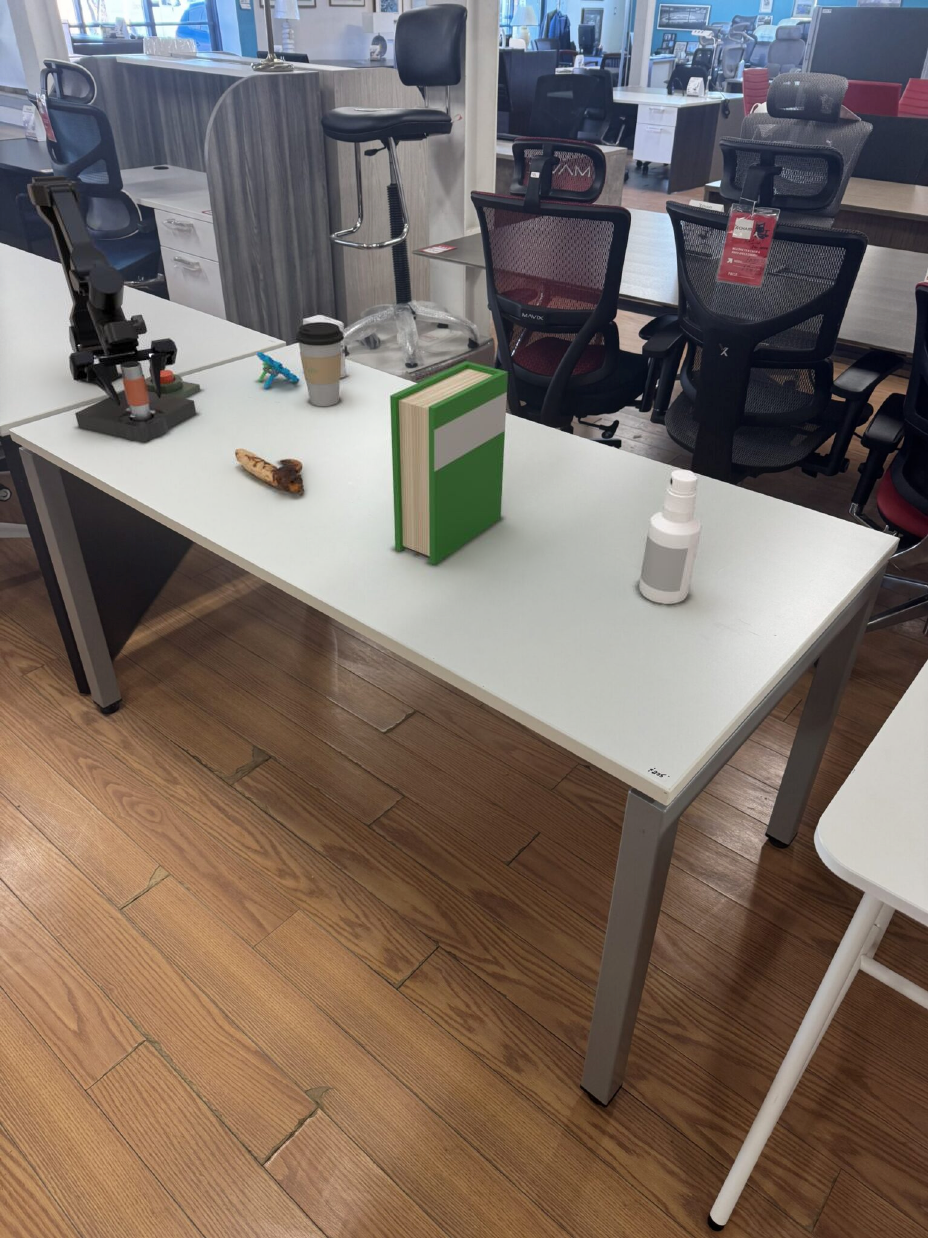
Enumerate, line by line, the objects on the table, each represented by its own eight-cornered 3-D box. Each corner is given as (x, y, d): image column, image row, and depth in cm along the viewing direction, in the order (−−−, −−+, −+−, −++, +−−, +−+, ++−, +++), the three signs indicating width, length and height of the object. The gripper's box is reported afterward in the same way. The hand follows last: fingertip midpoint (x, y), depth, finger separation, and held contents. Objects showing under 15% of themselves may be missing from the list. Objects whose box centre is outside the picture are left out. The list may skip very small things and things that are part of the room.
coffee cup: (293, 405, 173) (285, 331, 164) (316, 390, 180) (310, 318, 171) (333, 412, 170) (328, 337, 162) (355, 396, 177) (351, 324, 169)
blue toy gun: (308, 380, 180) (271, 352, 173) (293, 404, 180) (255, 376, 173) (287, 372, 188) (251, 345, 181) (273, 395, 188) (236, 368, 181)
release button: (147, 383, 175) (146, 374, 174) (161, 376, 178) (160, 368, 177) (164, 386, 173) (163, 378, 172) (178, 379, 176) (177, 371, 175)
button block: (130, 396, 175) (126, 382, 174) (159, 382, 182) (156, 368, 180) (172, 405, 172) (170, 390, 170) (200, 390, 179) (198, 376, 177)
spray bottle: (633, 578, 122) (651, 464, 111) (679, 577, 122) (702, 463, 112) (645, 605, 116) (666, 487, 106) (693, 604, 117) (719, 486, 106)
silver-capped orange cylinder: (123, 436, 159) (108, 368, 152) (139, 424, 164) (124, 358, 156) (150, 439, 158) (136, 370, 151) (165, 427, 163) (152, 360, 155)
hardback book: (434, 565, 124) (434, 408, 110) (395, 549, 127) (390, 395, 113) (500, 518, 136) (507, 371, 122) (463, 505, 139) (465, 360, 125)
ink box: (305, 372, 189) (300, 318, 182) (323, 366, 192) (319, 313, 185) (330, 381, 184) (326, 327, 178) (348, 376, 187) (344, 322, 181)
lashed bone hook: (330, 488, 144) (269, 453, 154) (330, 462, 142) (267, 428, 151) (285, 504, 139) (224, 467, 148) (284, 478, 136) (221, 441, 146)
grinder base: (77, 428, 162) (73, 413, 160) (132, 401, 173) (129, 387, 171) (147, 443, 156) (144, 428, 155) (199, 415, 168) (197, 400, 166)
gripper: (56, 307, 146) (87, 389, 145) (164, 293, 154) (194, 370, 153) (58, 340, 156) (87, 417, 155) (160, 325, 164) (187, 398, 163)
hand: (139, 400), depth 156 cm, fingers open, 7 cm apart
